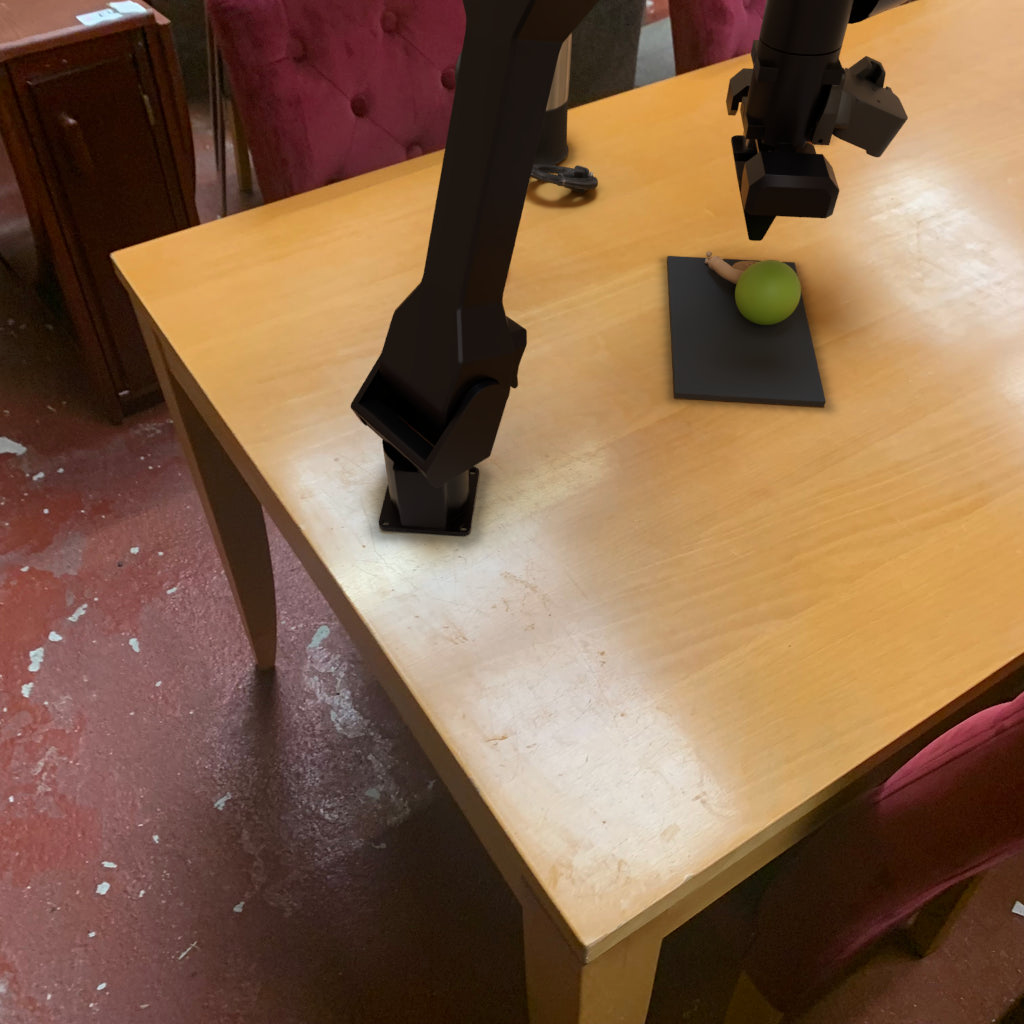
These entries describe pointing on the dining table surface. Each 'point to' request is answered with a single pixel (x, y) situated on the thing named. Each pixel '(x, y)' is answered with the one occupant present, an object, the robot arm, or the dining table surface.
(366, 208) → the dining table surface
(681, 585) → the dining table surface
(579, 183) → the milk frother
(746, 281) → the snail figurine
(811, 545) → the dining table surface
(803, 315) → the mat
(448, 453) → the robot arm
